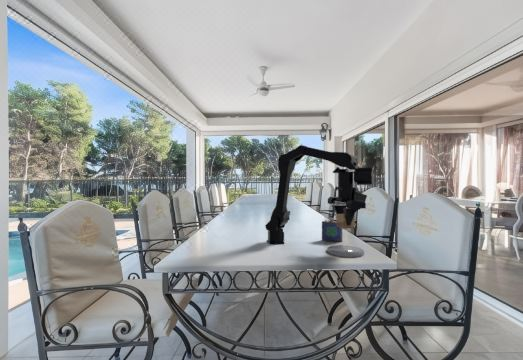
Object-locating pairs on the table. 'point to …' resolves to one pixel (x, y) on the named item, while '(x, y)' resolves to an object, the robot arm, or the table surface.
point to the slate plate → (345, 251)
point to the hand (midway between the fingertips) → (345, 224)
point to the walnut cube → (344, 221)
